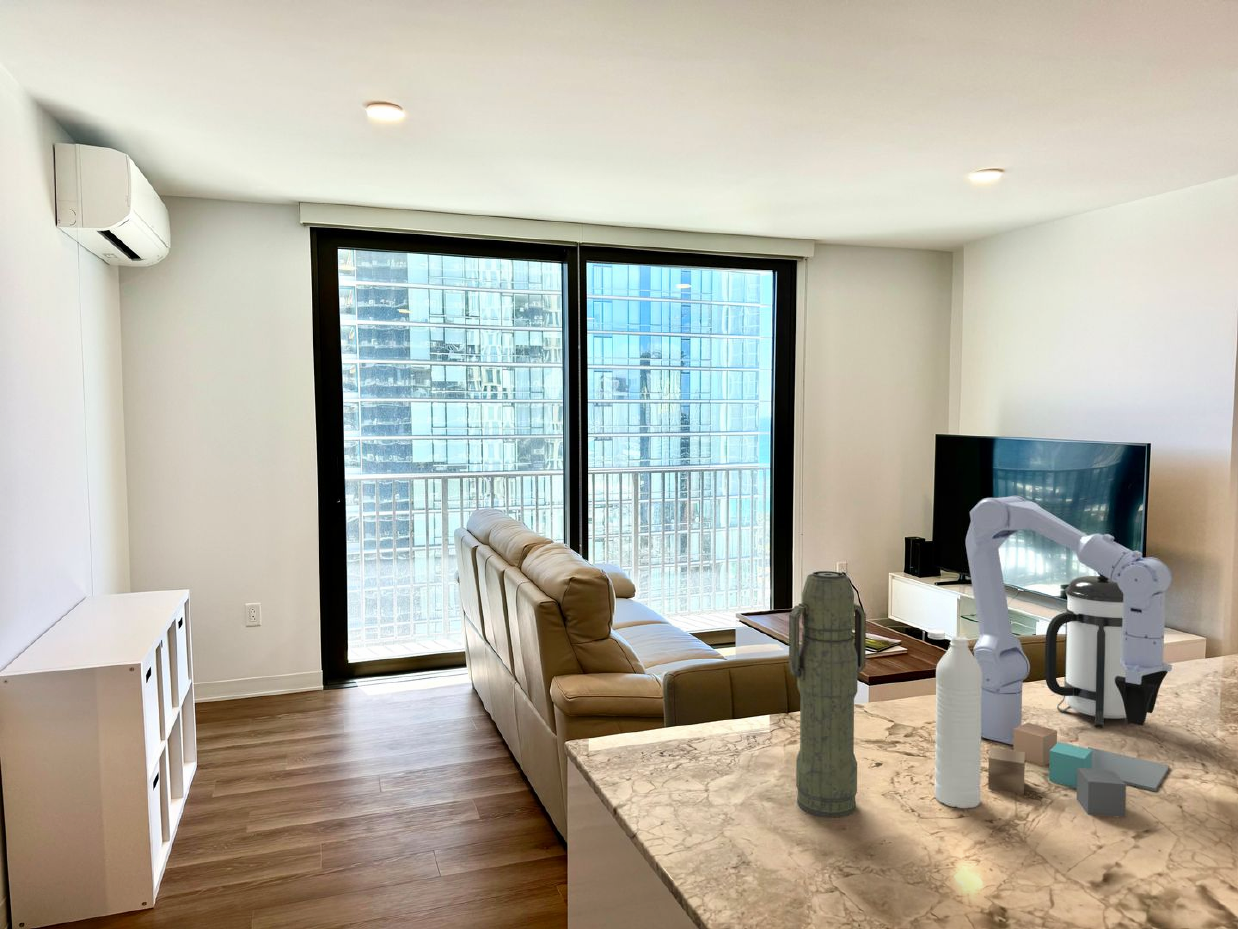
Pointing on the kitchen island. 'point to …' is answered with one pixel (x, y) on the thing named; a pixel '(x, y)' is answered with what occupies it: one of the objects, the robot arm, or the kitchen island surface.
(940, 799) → the water bottle
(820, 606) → the thermos
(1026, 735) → the terracotta block
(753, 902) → the kitchen island surface
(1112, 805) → the charcoal block
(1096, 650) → the coffee press
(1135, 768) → the slate coaster
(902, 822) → the kitchen island surface
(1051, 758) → the teal block
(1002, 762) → the walnut block
